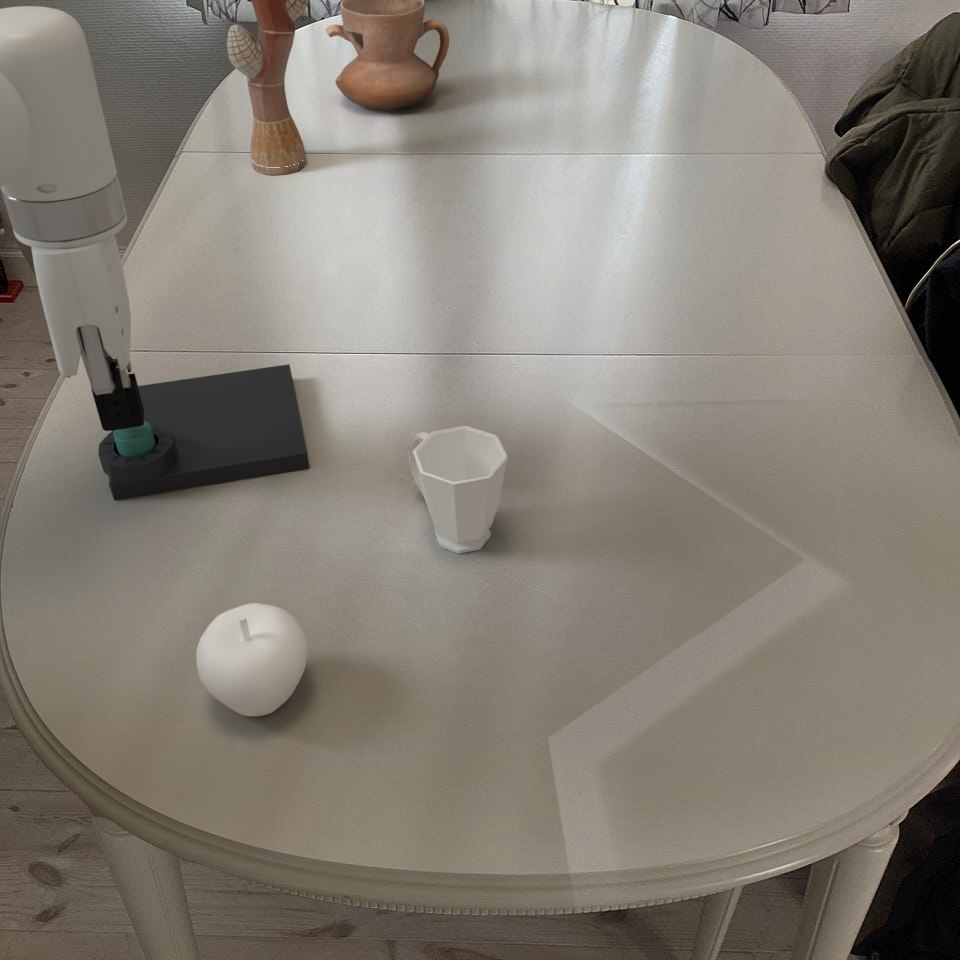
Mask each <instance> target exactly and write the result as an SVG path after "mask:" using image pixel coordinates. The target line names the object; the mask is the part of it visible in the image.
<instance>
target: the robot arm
mask: <svg viewBox="0 0 960 960" xmlns="http://www.w3.org/2000/svg"><path fill="white" fill-rule="evenodd" d="M88 46H89V45H88V42H87V38H86V35H85V32H84V30H83V28H82V26H81V25H80V24H79V21H77V20H76V18H74V17H73V15H71V14H69V13H67V12H65V11H64V10H61V9H57V8H53V7H48V6H38V5H37V6H36V5H32V6H31V5H24V6H9V7H1V8H0V191H1V194H2V199H3V201H4V204H5V207H6V210H7V215H8V218H9V220H10V224H11V227H12V231H13V235H14V237H15V239H16V240H17V241H18V242H20V243H21V244H23V245H24V246H25V245H26V246H28V247H31V255H32V261H33V262H32V263H33V268H34V272H35V279H36V282H37V288H38V292H39V297H40V300H41V305H42V308H43V309H42V310H43V313H44V317H45V321H46V324H47V328H48V333H49V336H50V337H49V338H50V340H51V344H52V348H53V352H54V356H55V360H56V361H55V362H56V364H57V369H58V371H59V373H60V375H61V376H63V377H64V378H66V379H68V378H71V377H73V376H77V375H78V370H79V364H80V359H82V363H83V365H84V368H85V371H86V372H85V373H86V374H87V377H88V380H89V383H90V386H91V389H90V391H91V394H92V398H93V400H94V403H95V407H96V411H97V415H98V417H99V421H100V425H101V429H102V430H103V431H105V432H111V431H112V430H119V429H127V428H134V427H140V426H143V425H144V409H143V405H142V401H141V397H140V393H139V389H138V386H139V385H138V381H137V377H136V373H134V372H133V373H132V364H131V359H130V358H131V336H132V335H131V334H132V333H131V332H132V331H131V330H132V317H131V315H132V314H131V306H130V298H129V294H128V287H127V282H126V278H125V277H126V276H125V272H124V268H123V264H122V259H121V255H120V250H119V247H118V243H117V239H116V234H118V233H120V232H121V231H122V230H123V228H125V226H126V225H127V222H128V215H127V210H126V207H125V202H124V198H123V193H122V188H121V184H120V181H119V176H118V172H117V171H118V170H117V167H116V162H115V159H114V153H113V150H112V146H111V141H110V137H109V131H108V127H107V124H106V119H105V115H104V111H103V107H102V102H101V97H100V92H99V89H98V86H97V85H98V84H97V81H96V80H97V79H96V76H95V71H94V67H93V62H92V59H91V54H90V51H89V50H90V49H89V47H88Z"/></svg>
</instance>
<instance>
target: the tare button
mask: <svg viewBox="0 0 960 960" xmlns="http://www.w3.org/2000/svg"><path fill="white" fill-rule="evenodd" d="M113 436H114V439H115V442H116V446H117V449H118V452H119V454H120V455H122V456H124V457H129V458H131V457H138V456H142V455H144V454H146V453H148V452H150V451H152V450H153V449H154V448H155V445H156V443H155V439H154V435H153V431H152V428H151V425H150V424H149V423H148V422H146V421H144V425H143V426H140V427H134V428H127V429H119V430H114V432H113Z"/></svg>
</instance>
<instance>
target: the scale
mask: <svg viewBox="0 0 960 960" xmlns="http://www.w3.org/2000/svg"><path fill="white" fill-rule="evenodd" d="M138 389H139V393H140V397H141V401H142V405H143V409H144V421H146V422H148V423H149V424H150V425H151V428H152V431H153V435H154V439H155V443H156V445H155V448H154V449H153V450H152V451H150V452H148V453H146V454H144V455H142V456H138V457H131V458H129V457H124V456H122V455H120V454H119V452H118V449H117V446H116V442H115V439H114V436H113V432H114V430H112V431H109V433H108V434H107V435H106V436H105V437H104V438H103V439H102V440H101V441H100V442H99V444H98V458H99V461H100V464H101V468H102V470H103V473H104V474H105V475H106V476H108V479H109V480H108V486H109V489H110V492H111V495H112V498H113V501H116V500H124V499H129V498H135V497H141V496H148V495H155V494H161V493H167V492H172V491H178V490H185V489H191V488H196V487H203V486H209V485H214V484H215V485H216V484H220V483H221V484H222V483H227V482H228V483H229V482H233V481H234V482H235V481H240V480H246V479H252V478H259V477H264V476H270V475H277V474H282V473H289V472H295V471H300V470H307V469H310V463H309V456H308V450H307V445H306V440H305V435H304V430H303V425H302V420H301V414H300V410H299V405H298V400H297V395H296V390H295V385H294V380H293V376H292V370H291V365H290V363H288V364H281V365H275V366H267V367H261V368H253V369H247V370H239V371H233V372H225V373H219V374H218V373H217V374H213V375H204V376H198V377H191V378H183V379H177V380H176V379H175V380H170V381H163V382H157V383H149V384H142V385H138Z"/></svg>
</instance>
